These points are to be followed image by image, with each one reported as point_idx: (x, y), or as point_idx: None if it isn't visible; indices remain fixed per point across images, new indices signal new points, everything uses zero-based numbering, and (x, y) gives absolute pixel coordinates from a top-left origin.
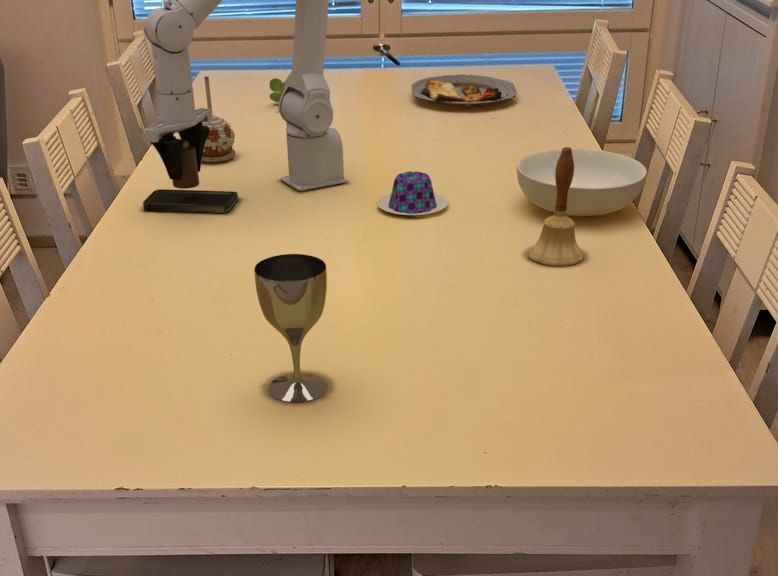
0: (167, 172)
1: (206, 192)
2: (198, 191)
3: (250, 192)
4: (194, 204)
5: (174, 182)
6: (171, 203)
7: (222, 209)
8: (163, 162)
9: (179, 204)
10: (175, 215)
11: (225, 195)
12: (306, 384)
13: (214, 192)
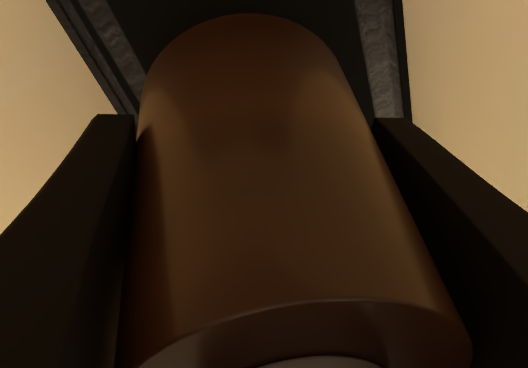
0: (72, 148)
1: (388, 78)
2: (393, 26)
3: (502, 172)
4: None
5: (143, 103)
6: (106, 5)
7: None
8: (13, 222)
9: (124, 65)
10: (51, 63)
11: None
12: None
13: (397, 115)
